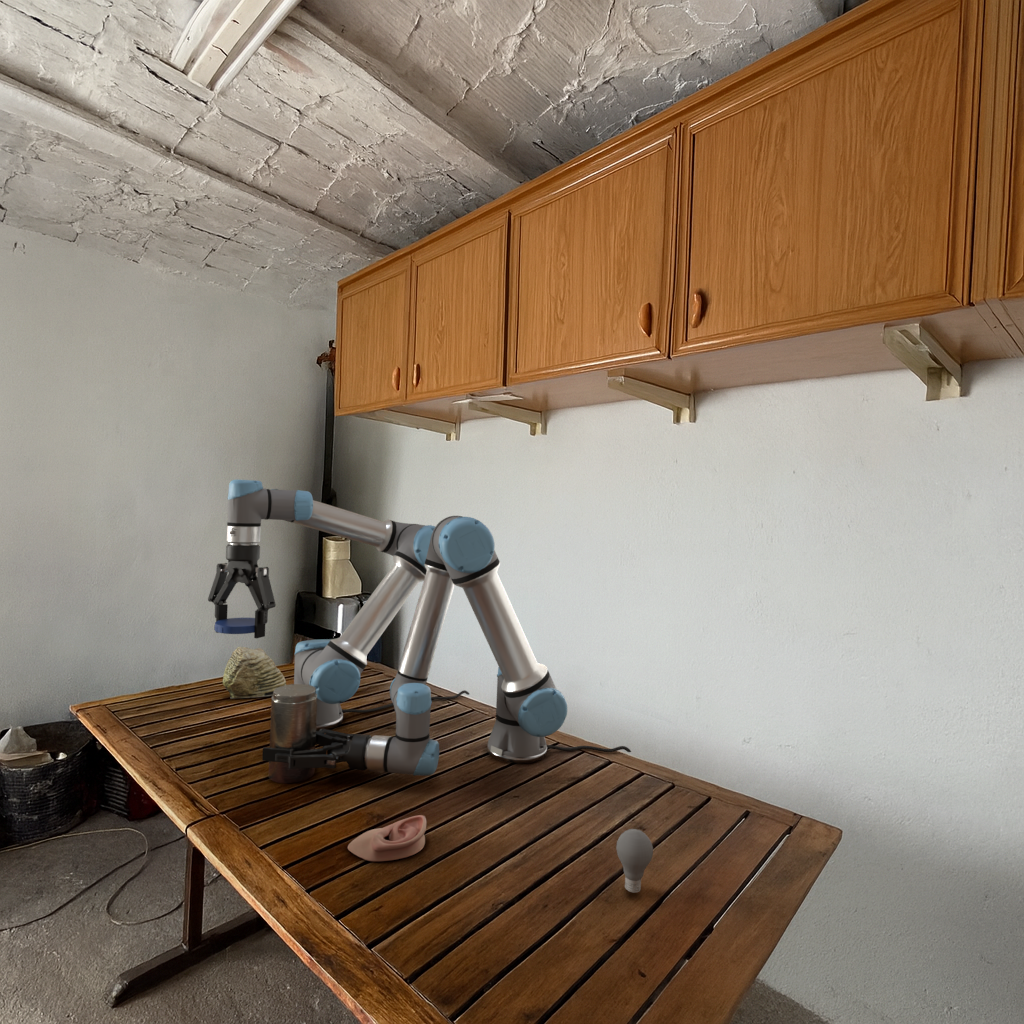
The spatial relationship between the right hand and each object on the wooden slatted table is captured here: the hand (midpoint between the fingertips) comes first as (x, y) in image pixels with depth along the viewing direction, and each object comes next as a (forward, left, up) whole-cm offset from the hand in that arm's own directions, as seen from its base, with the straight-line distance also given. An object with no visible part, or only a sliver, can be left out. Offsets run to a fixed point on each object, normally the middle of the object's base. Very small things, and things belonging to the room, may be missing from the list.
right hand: (274, 744), depth 144 cm
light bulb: (-58, +61, -6) cm, 84 cm away
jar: (-4, +2, -6) cm, 8 cm away
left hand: (+9, -12, +23) cm, 27 cm away
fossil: (+7, -59, -6) cm, 60 cm away
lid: (+9, -12, +26) cm, 30 cm away
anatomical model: (-20, +37, -6) cm, 43 cm away
